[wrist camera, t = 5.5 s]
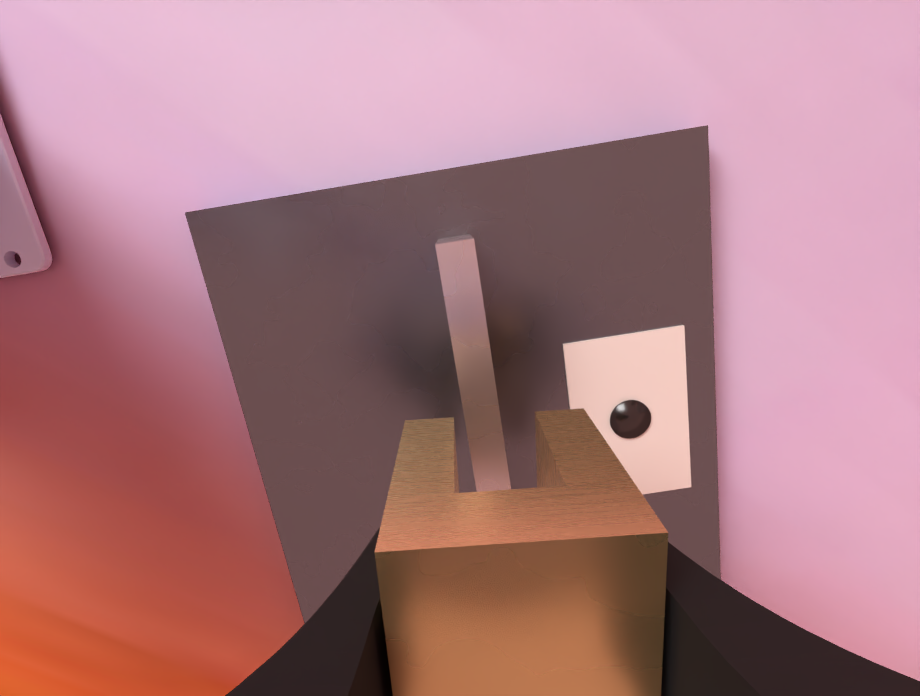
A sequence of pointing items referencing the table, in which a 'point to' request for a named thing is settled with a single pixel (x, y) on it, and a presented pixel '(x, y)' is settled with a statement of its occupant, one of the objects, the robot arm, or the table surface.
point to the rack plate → (472, 333)
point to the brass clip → (521, 571)
